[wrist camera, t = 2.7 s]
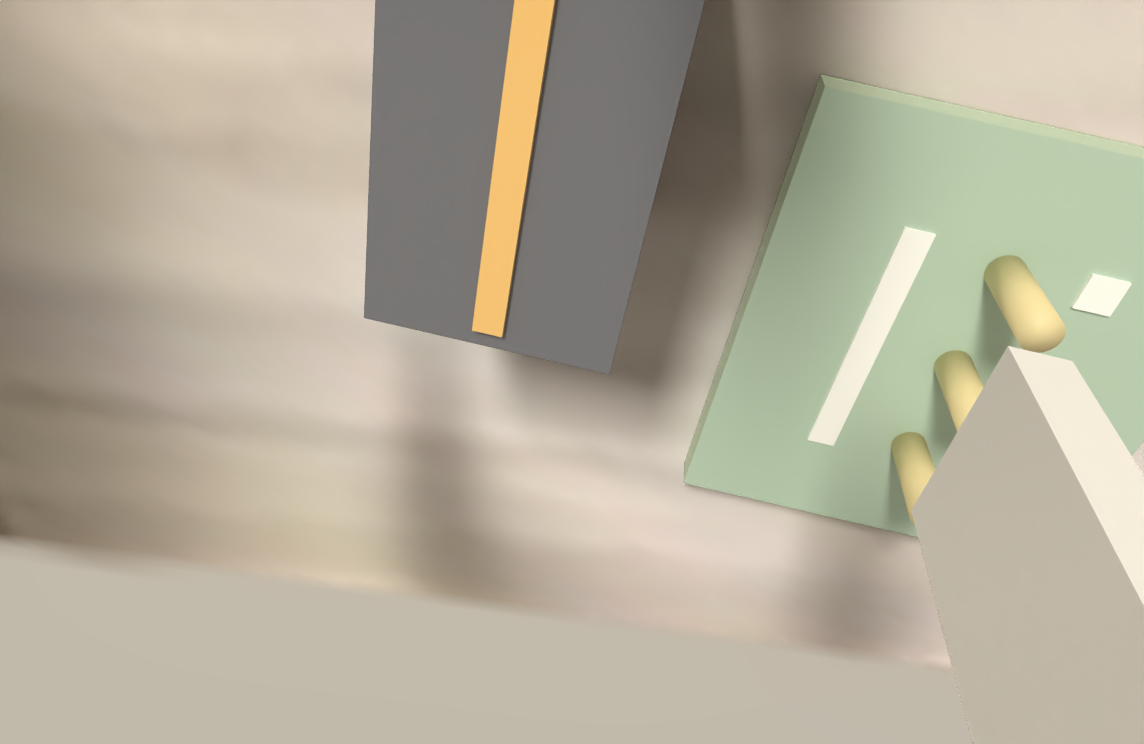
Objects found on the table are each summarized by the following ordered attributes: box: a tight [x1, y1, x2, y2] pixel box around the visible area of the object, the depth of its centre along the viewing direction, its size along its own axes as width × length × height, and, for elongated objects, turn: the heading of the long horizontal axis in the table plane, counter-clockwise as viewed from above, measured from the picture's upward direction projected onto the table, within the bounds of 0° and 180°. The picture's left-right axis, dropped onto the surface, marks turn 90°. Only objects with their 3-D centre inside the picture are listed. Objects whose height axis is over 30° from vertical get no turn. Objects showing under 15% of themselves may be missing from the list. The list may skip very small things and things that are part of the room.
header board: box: [684, 74, 1144, 537], centre depth 22 cm, size 13×12×4 cm
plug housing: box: [364, 0, 705, 374], centre depth 17 cm, size 8×5×8 cm, turn 170°
